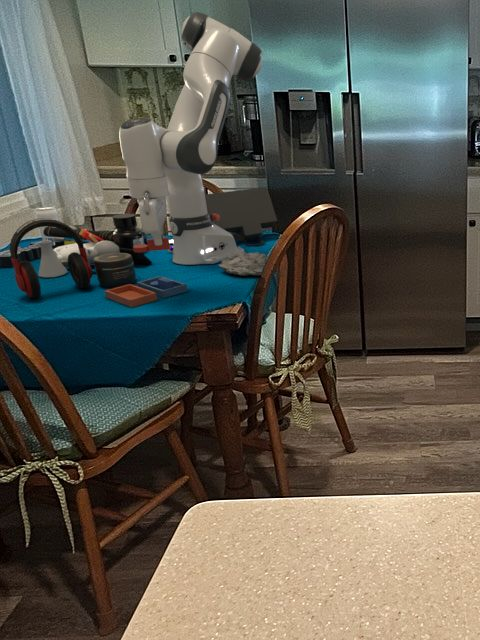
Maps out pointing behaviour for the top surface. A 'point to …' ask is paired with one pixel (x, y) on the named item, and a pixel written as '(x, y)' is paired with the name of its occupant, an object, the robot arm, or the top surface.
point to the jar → (115, 269)
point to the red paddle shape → (152, 246)
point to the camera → (243, 211)
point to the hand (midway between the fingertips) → (159, 243)
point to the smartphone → (136, 256)
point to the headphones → (26, 271)
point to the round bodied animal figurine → (101, 250)
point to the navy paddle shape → (162, 284)
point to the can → (47, 213)
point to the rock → (244, 263)
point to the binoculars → (71, 249)
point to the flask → (50, 261)
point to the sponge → (73, 242)
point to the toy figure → (89, 235)
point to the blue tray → (175, 290)
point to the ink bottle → (127, 231)
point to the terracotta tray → (131, 295)
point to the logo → (28, 252)
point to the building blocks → (171, 249)
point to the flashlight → (61, 233)
